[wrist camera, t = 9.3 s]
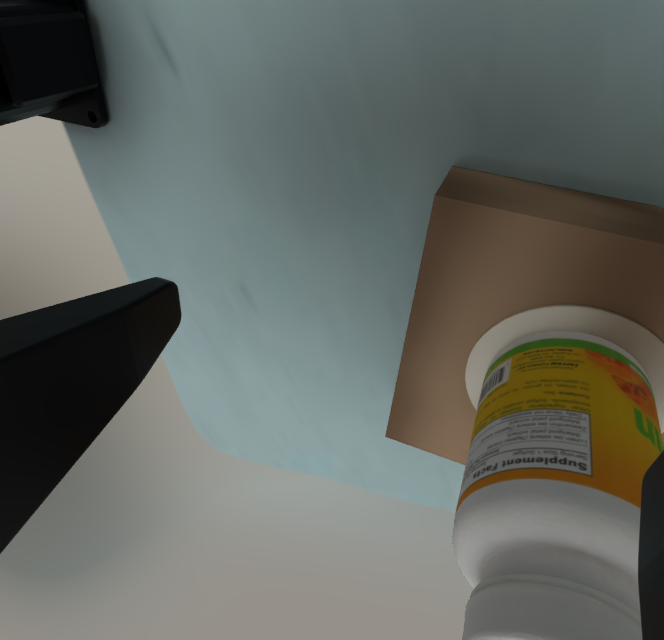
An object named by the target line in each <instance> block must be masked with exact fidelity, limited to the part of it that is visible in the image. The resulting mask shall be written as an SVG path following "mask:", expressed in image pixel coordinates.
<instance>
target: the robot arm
mask: <svg viewBox="0 0 664 640" xmlns="http://www.w3.org/2000/svg"><path fill="white" fill-rule="evenodd" d="M94 113H95V114H96V116H97V118H96V116H95V114H94ZM33 116H42V117H46V118H51V119H55V120H60V121H65V122H69V123H74V124H78V125H83V126H87V127H92V128H100V127H103V126H105V125H106V124H107V122H108V116H107V111H106V106H105V101H104V96H103V92H102V87H101V82H100V77H99V72H98V67H97V63H96V58H95V53H94V48H93V43H92V39H91V34H90V29H89V24H88V19H87V14H86V10H85V5H84V0H0V126H1V125H5V124H8V123H12V122H16V121H19V120H22V119H26V118H30V117H33ZM180 321H181V308H180V300H179V292H178V287H177V285H176V284H175V283H174V282H172V281H169V280H166V279H163V278H159V277H154V278H150V279H146V280H143V281H139V282H136V283H132V284H128V285H125V286H121V287H118V288H114V289H110V290H107V291H103V292H100V293H96V294H92V295H89V296H85V297H82V298H78V299H74V300H71V301H68V302H64V303H60V304H56V305H53V306H49V307H46V308H42V309H38V310H35V311H31V312H28V313H24V314H21V315H17V316H13V317H10V318H6V319H2V320H0V554H1V552H2V551H3V550H4V549H5V548H6V546H7V545H8V544H9V543H10V541H11V540H12V539H13V538H14V537H15V535H16V534H17V533H18V532H19V531H20V529H21V528H22V527H23V526H24V524H25V523H26V522H27V521H28V520H29V519H30V517H31V516H32V515H33V514H34V512H35V511H36V510H37V509H38V508H39V506H40V505H41V504H42V503H43V502H44V500H45V499H46V498H47V497H48V496H49V494H50V493H51V492H52V491H53V489H54V488H55V487H56V486H57V485H58V483H59V482H60V481H61V479H63V477H64V476H65V475H66V474H67V472H68V471H69V470H70V469H71V468H72V466H73V465H74V464H75V463H76V461H77V460H78V459H79V458H80V457H81V456H82V454H83V453H84V452H85V451H86V449H87V448H88V447H89V446H90V445H91V443H92V442H93V441H94V440H95V439H96V437H97V436H98V435H99V434H100V432H101V431H102V430H103V429H104V428H105V427H106V425H107V424H108V423H109V422H110V420H111V419H112V418H113V417H114V415H115V414H116V413H117V412H118V411H119V410H120V408H121V407H122V406H123V405H124V403H125V402H126V401H127V400H128V399H129V397H130V396H131V395H132V394H133V392H134V391H135V390H136V389H137V387H138V386H139V385H140V383H141V382H142V381H143V379H144V378H145V376H146V375H147V373H148V372H149V371H150V369H151V367H152V366H153V364H154V363H155V361H156V360H157V358H158V357H159V355H160V354H161V352H162V351H163V349H164V348H165V346H166V345H167V343H168V342H169V340H170V339H171V337H172V336H173V334H174V333H175V331H176V330H177V328H178V326H179V324H180ZM638 589H639V602H640V615H641V628H642V640H664V450H663V451H662V453H661V454H660V455H659V456H658V457H657V459H656V460H655V461H654V462H653V463H652V465H651V466H650V467H649V468H648V469H647V471H646V473H645V474H644V477H643V481H642V490H641V509H640V529H639V549H638Z"/></svg>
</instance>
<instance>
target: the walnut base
mask: <svg viewBox="0 0 664 640" xmlns="http://www.w3.org/2000/svg"><path fill="white" fill-rule="evenodd" d="M552 331H572V332H580V333H586V334H590V335H593V336H597V337H600V338H602V339H605V340H607V341H609V342H612V343H614V344H615V345H617V346H619V347H621V348H622V349H624V350H625V351H626V352H628V353H629V354H630V355H631V356H633V357H634V358H635V359H636V360H637V361H638V362H639V364H640V365H641V366H642V368H643V369H644V371H645V372H646V374H647V375H648V378H649V380H650V383H651V386H652V389H653V394H654V398H655V403H656V408H657V414H658V419H659V424H660V429H661V435H662V440H663V445H664V208H662V207H657V206H652V205H647V204H642V203H637V202H632V201H626V200H621V199H616V198H611V197H606V196H601V195H596V194H591V193H586V192H581V191H576V190H571V189H566V188H560V187H555V186H550V185H545V184H540V183H535V182H530V181H525V180H520V179H515V178H510V177H505V176H500V175H495V174H489V173H484V172H479V171H474V170H469V169H464V168H459V167H454V166H453V167H452V168H451V170H450V171H449V173H448V175H447V176H446V178H445V180H444V181H443V183H442V185H441V186H440V188H439V189H438V191H437V193H436V194H435V197H434V202H433V207H432V212H431V217H430V222H429V226H428V231H427V236H426V241H425V246H424V251H423V256H422V261H421V265H420V270H419V275H418V280H417V285H416V290H415V295H414V300H413V304H412V309H411V314H410V319H409V324H408V329H407V334H406V338H405V343H404V348H403V353H402V358H401V363H400V368H399V373H398V377H397V382H396V387H395V392H394V397H393V402H392V407H391V412H390V416H389V421H388V426H387V431H386V436H385V437H388V438H391V439H393V440H396V441H399V442H402V443H405V444H407V445H410V446H413V447H416V448H419V449H421V450H424V451H427V452H430V453H433V454H435V455H438V456H441V457H444V458H447V459H449V460H452V461H455V462H458V463H461V464H463V465H466V462H467V457H468V452H469V447H470V443H471V437H472V432H473V428H474V423H475V418H476V413H477V407H478V402H479V399H480V393H481V389H482V385H483V381H484V378H485V374H486V372H487V369H488V367H489V365H490V364H491V362H492V361H493V359H494V358H495V357H496V356H497V355H498V353H499V352H501V351H502V350H503V349H504V348H506V347H507V346H509V345H510V344H512V343H514V342H515V341H517V340H519V339H521V338H524V337H527V336H530V335H534V334H538V333H544V332H552Z"/></svg>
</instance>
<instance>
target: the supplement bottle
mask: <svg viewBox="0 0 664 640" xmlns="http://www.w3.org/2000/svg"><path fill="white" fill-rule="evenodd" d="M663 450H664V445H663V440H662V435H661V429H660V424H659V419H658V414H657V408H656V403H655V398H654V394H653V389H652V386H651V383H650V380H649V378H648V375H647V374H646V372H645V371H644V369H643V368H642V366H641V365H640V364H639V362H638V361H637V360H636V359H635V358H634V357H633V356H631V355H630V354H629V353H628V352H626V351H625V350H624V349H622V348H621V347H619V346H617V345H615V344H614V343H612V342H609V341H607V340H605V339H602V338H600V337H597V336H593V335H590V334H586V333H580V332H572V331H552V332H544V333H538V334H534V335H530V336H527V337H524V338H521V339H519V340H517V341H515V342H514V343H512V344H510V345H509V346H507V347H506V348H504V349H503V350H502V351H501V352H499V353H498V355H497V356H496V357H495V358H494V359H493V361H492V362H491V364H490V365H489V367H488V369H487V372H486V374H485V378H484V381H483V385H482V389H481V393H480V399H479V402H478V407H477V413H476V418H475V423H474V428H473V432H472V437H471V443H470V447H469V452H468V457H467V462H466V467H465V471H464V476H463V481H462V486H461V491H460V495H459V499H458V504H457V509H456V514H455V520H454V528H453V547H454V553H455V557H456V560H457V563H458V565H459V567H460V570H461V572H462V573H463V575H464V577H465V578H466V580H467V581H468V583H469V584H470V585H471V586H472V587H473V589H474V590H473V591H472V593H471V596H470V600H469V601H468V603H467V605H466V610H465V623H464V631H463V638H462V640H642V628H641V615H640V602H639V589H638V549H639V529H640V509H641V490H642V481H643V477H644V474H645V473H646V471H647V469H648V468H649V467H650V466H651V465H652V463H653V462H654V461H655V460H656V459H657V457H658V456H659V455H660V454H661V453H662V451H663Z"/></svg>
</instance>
